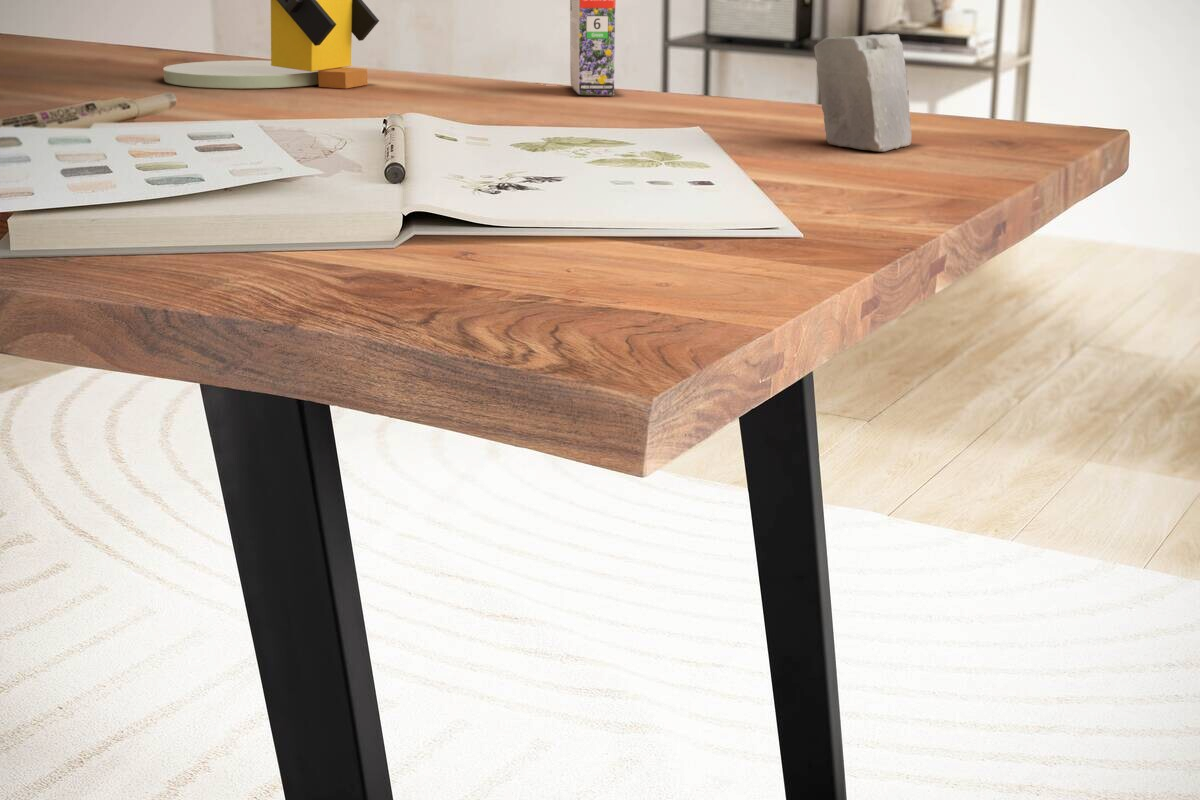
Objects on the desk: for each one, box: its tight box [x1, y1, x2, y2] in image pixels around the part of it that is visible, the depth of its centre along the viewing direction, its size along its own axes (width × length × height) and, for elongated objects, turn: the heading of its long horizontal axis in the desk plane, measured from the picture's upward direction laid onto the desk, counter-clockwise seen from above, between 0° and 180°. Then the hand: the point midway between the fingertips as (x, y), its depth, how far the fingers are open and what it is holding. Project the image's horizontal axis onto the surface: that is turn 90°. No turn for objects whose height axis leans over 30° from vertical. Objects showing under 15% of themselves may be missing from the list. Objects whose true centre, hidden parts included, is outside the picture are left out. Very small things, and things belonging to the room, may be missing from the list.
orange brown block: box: [318, 67, 368, 90], centre depth 122 cm, size 3×4×2 cm
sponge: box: [270, 0, 353, 72], centre depth 121 cm, size 4×7×11 cm, turn 159°
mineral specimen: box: [813, 32, 913, 152], centre depth 91 cm, size 7×9×8 cm
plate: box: [162, 59, 327, 90], centre depth 126 cm, size 16×16×1 cm
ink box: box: [569, 0, 616, 96], centre depth 119 cm, size 4×8×15 cm, turn 7°
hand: (347, 32), depth 120 cm, fingers closed on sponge, 7 cm apart
